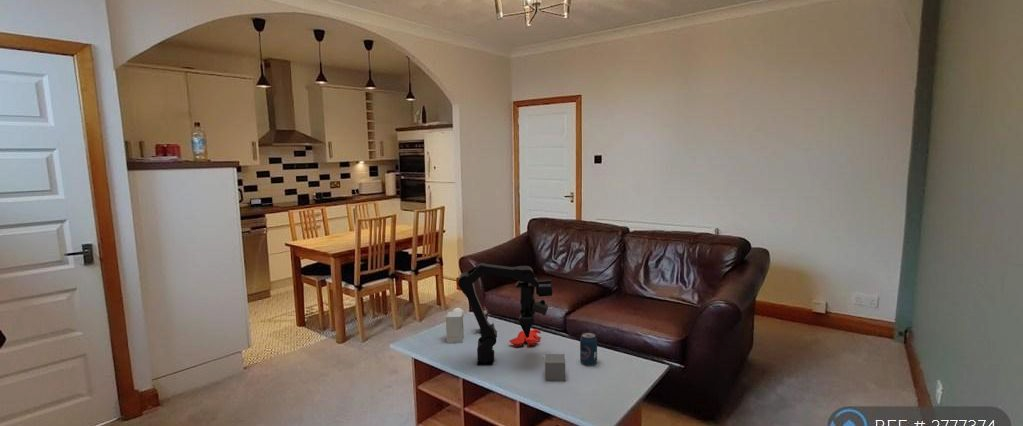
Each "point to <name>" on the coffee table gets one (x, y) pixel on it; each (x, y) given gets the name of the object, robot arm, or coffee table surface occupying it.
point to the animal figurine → (526, 338)
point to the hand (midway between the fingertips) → (527, 332)
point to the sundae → (485, 314)
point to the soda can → (588, 349)
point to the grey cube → (554, 367)
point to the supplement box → (454, 327)
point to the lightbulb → (458, 310)
